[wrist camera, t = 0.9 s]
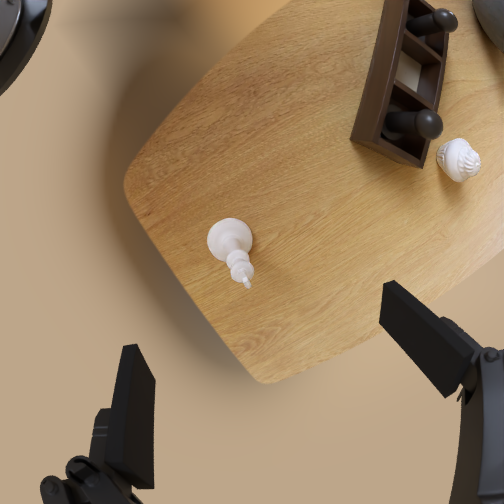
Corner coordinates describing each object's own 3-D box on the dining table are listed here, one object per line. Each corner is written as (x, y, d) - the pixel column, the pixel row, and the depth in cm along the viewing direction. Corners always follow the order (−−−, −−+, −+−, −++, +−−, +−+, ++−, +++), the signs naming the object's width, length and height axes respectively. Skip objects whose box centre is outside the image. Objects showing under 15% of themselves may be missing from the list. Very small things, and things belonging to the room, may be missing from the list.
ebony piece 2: (368, 131, 29) (420, 135, 21) (377, 98, 28) (429, 95, 20) (395, 145, 31) (447, 154, 23) (404, 114, 29) (455, 116, 21)
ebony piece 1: (392, 33, 25) (440, 19, 17) (397, 10, 23) (442, -6, 15) (417, 50, 26) (465, 42, 18) (421, 28, 24) (466, 17, 17)
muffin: (457, 141, 33) (492, 148, 26) (451, 180, 35) (485, 191, 29) (432, 130, 31) (469, 135, 25) (426, 172, 34) (463, 183, 27)
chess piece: (240, 210, 31) (263, 243, 22) (258, 248, 33) (286, 293, 24) (199, 230, 31) (203, 272, 22) (219, 267, 33) (232, 319, 24)
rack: (349, 139, 30) (371, 141, 26) (385, -4, 23) (405, -14, 18) (398, 163, 32) (422, 169, 28) (428, 27, 25) (450, 22, 21)
